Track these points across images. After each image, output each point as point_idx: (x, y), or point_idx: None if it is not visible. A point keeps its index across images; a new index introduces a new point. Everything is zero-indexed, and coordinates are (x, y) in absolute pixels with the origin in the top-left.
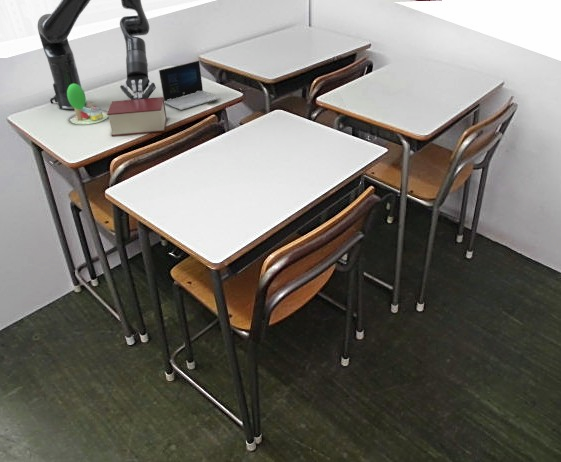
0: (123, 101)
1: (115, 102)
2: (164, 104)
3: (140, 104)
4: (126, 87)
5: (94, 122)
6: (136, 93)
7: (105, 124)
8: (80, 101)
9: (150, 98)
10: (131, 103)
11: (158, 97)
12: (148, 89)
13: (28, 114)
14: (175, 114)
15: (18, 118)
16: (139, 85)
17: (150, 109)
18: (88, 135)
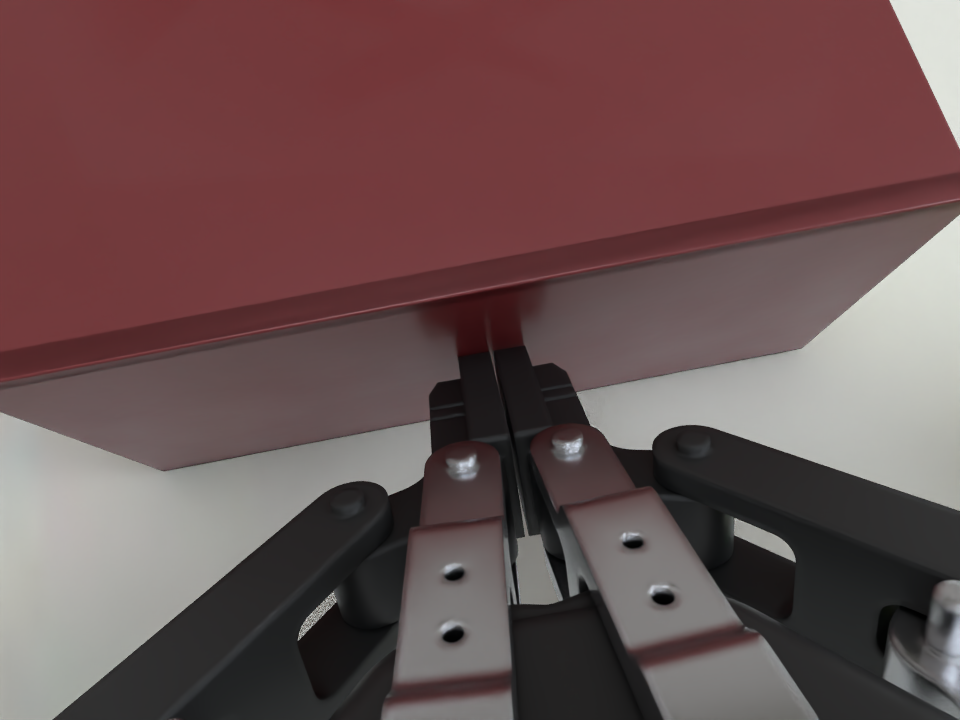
0: (727, 174)
1: (869, 131)
2: (43, 420)
3: (338, 24)
4: (945, 662)
5: None
6: (561, 496)
7: (931, 305)
8: None
9: (207, 316)
10: (521, 72)
11: (43, 364)
12: (240, 618)
13: None
14: (54, 624)
15: None
16: (484, 645)
17: None
18: (952, 20)
